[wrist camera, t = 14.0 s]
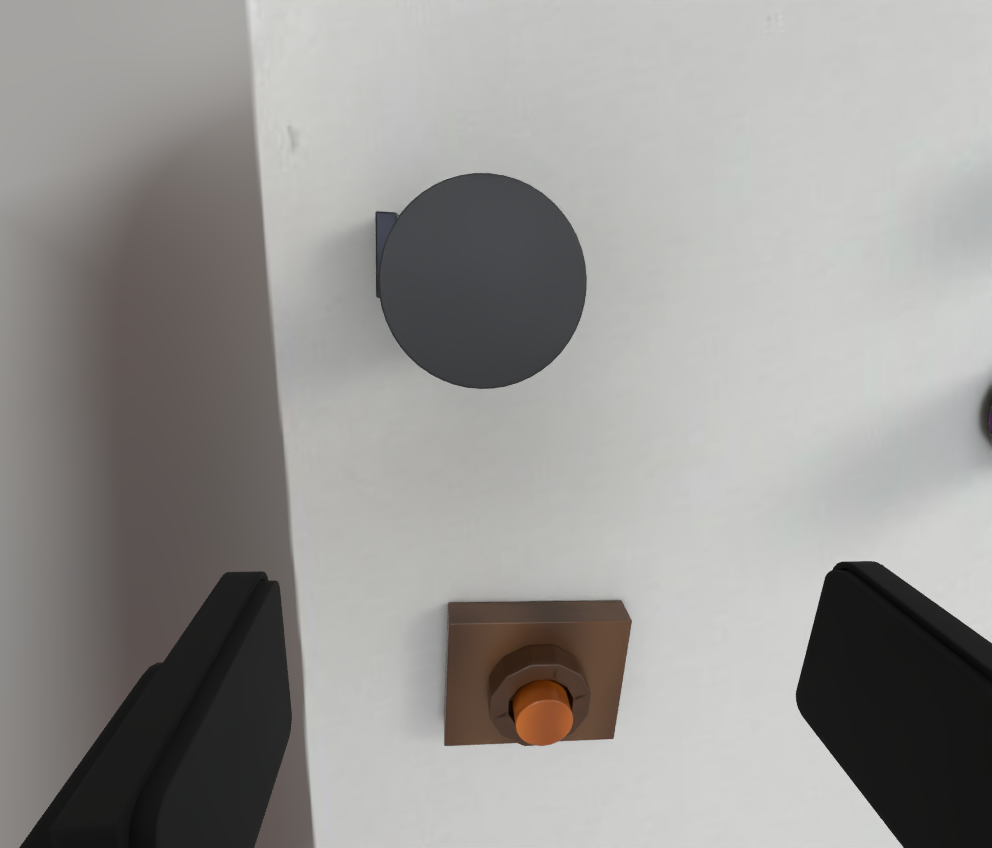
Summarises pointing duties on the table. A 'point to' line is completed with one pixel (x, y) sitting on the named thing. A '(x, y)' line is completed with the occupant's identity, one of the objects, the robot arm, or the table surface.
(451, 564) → the table surface
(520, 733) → the button
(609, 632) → the control block
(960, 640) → the robot arm
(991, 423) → the beverage can
